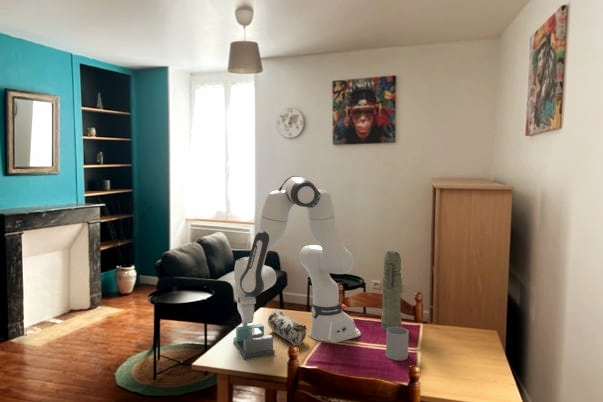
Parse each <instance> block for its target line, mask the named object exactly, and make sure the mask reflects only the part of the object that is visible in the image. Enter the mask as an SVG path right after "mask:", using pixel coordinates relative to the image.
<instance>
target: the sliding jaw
mask: <svg viewBox="0 0 603 402" xmlns="http://www.w3.org/2000/svg"><path fill="white" fill-rule="evenodd" d="M253 328H258V329H259V330H260V331H261V332H262V336H264V335H265V326H264V324H263V323H258V324H257V323H256V324H251V325H250V324H249V325H247V326H243V325H242V326H236V327H235V337H236V340H237V341H238V342H240V341H244V338H248V329H253Z"/></svg>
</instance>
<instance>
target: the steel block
mask: <svg viewBox="0 0 603 402" xmlns="http://www.w3.org/2000/svg"><path fill="white" fill-rule="evenodd" d="M258 336H262V332H261V331H260V330H259V329H258V328H253V329H248V338H251V337H258Z"/></svg>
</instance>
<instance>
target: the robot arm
mask: <svg viewBox="0 0 603 402" xmlns="http://www.w3.org/2000/svg"><path fill="white" fill-rule="evenodd" d="M294 205H296V206H298V207H303V208H306V210H307V217H308V218H307V219H308V225H309V233H310V236H311V237H312V239H313V240H315V241H316V242H317V243H318V244H319V245H318V244H310V245H305V246H303V247H302V249H301V250H300V252H299V257H298V259H299V263H300V265H301V266H302V267H303V269H305V270H306V272H307V274H308V276H309V278H310V281H311V285H312V303H311V316H312V317H311V326H310V330H309V333H308V335H309V337H310V338H311V339H314V340H317V341H321V342H327V343H332V344H335V343H340V342H343V341H344V342H345V341H348V340H350V339H354V338H358V337H361V335H362V334H361V331H360V330H359V328H357V327H356V324H355V321H354V318H352V317H351V316H350V315H349V314H347V313H346V312H345V311H346V310H347V305H346V304H344V303H341V302H339V297H340V296H339V292H340V291H339V288H340V287H339V285H338V283H337V282H336V281H335V280H334V279H333V278H332V277H331V274H334V275H344V274H345V275H347V274H349V273H350V272H351V271H352V270H353V268H354V265H355V257H354V255H353V253H352V252H351V251H350V250H349V249H347V247H345V245H344V244H343V242H342V240H341V239H340V237H339V233H338V230H337V225H336V217H335V209H334V204H333V200H332V197H331V194H330V193H329V191H326V190H324V189H318V188H317V187H316V186H315V185H314V183H312V182H311V181H310V180H308V179H307V178H305V177H303V176H299V175H292V176H290V177H288V178H286V180H285V181H283V183H282V185H281V186H280V187H279V188H278V190H273V191H270V192H269V193H268V194H267V195H266V197H265V199H264V202H263V206H262V209H261V214H260V218H259V224H258V227H257V231H256V234H255V236H254V239H253V243H252V245H251V249H250V253H249V256H244V257H241V258H238V259H236V260H235V264H234V269H233V270H234V272H233V273H234V274H233V275H234V276H233V279H234V286H233V287H234V289H233V291H234V292H233V293H234V296H233V298H234V300H235V301H236V302H237V311H238V313H239V314H240V317H241V323H242V324H241V325H242V326H248V324H252V323H253V322H254V316H255V304H257V301H256V300H257V299H256V297H258V296H259V295H261V294H262V293H263V292H265V291H268V289H270V288H272V287H273V286H274V285H276V282H277V278H278V277H277V273H276V270H275V269H274V268H273V267H271V266H268V265H265V261H266V258H267V254H268V253H269V251H270V248H271V247H272V246H273V245H274V244H276V242H278V241H279V240H280V239H281V238H282V237H283V236H284V234H285V231H286V229H287V226H288V220H289V216H290V215H289V214H290V211H291V209H292V208H293V207H294ZM344 310H345V311H344Z"/></svg>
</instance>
